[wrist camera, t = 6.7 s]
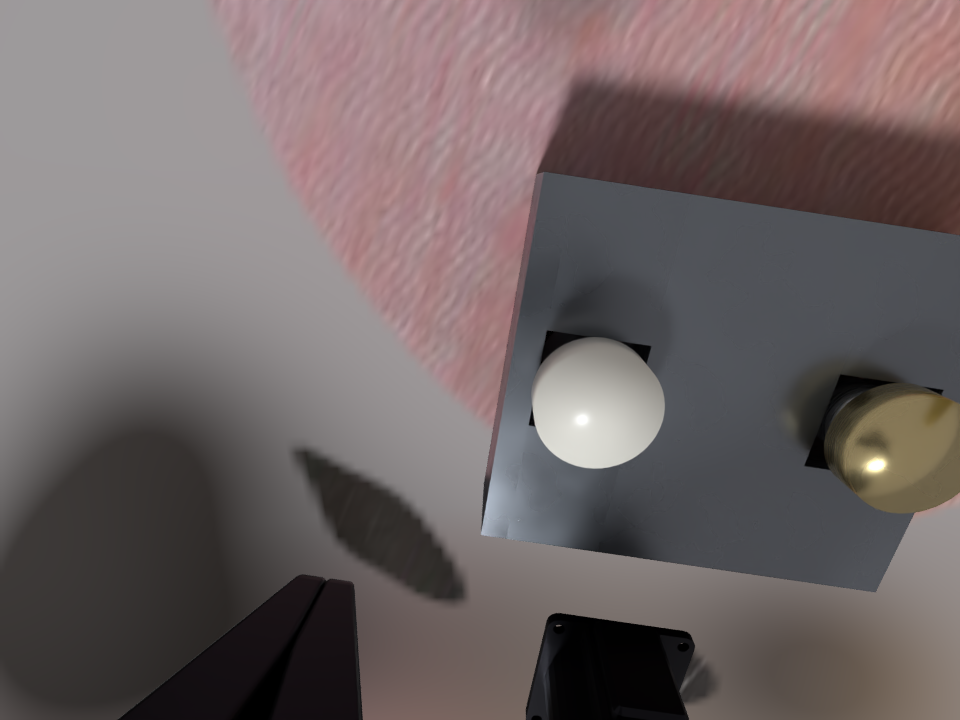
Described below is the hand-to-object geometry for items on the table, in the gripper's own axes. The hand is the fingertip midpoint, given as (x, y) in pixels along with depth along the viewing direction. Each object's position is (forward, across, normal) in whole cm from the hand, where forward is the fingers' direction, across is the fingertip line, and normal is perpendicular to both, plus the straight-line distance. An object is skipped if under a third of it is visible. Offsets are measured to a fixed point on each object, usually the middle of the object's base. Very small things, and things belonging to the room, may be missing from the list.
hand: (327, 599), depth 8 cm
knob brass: (+12, -14, -1) cm, 19 cm away
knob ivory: (+12, -5, -1) cm, 13 cm away
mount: (+12, -10, -1) cm, 16 cm away
